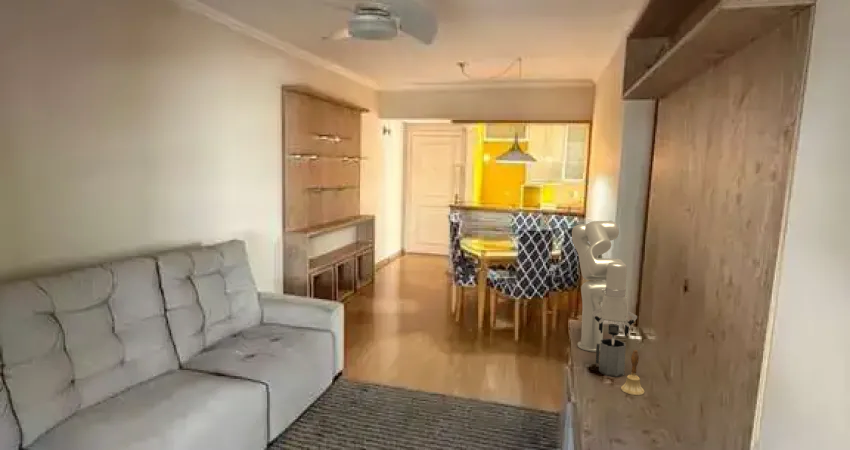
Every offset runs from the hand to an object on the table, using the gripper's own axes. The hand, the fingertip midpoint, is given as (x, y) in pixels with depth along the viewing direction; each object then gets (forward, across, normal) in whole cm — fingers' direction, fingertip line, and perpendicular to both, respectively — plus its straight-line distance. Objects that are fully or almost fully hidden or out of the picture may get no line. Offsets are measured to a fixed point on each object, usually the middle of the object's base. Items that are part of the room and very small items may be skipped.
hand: (613, 333), depth 203 cm
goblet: (+13, 0, 0) cm, 13 cm away
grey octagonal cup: (+16, 0, 0) cm, 16 cm away
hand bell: (+17, +8, -15) cm, 24 cm away
